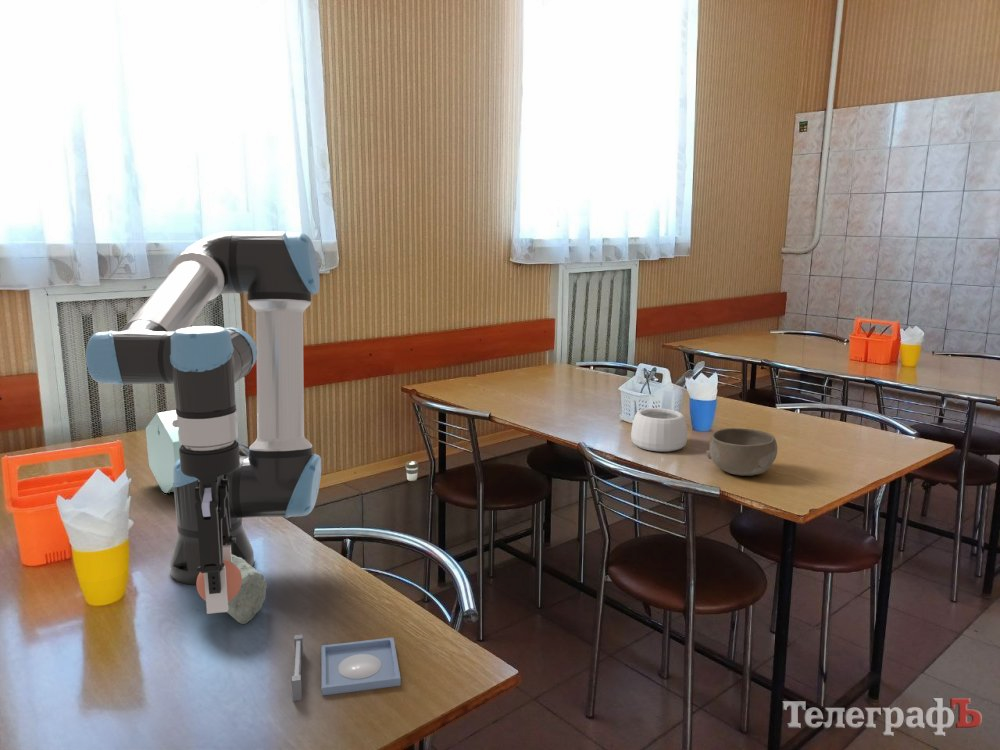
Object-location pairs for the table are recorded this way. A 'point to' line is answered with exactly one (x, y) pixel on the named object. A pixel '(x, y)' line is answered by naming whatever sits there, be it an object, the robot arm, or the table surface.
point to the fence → (297, 668)
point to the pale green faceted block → (163, 448)
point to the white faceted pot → (659, 429)
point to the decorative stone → (247, 592)
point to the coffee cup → (411, 470)
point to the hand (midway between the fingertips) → (220, 599)
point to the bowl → (742, 451)
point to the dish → (359, 666)
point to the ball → (231, 577)
